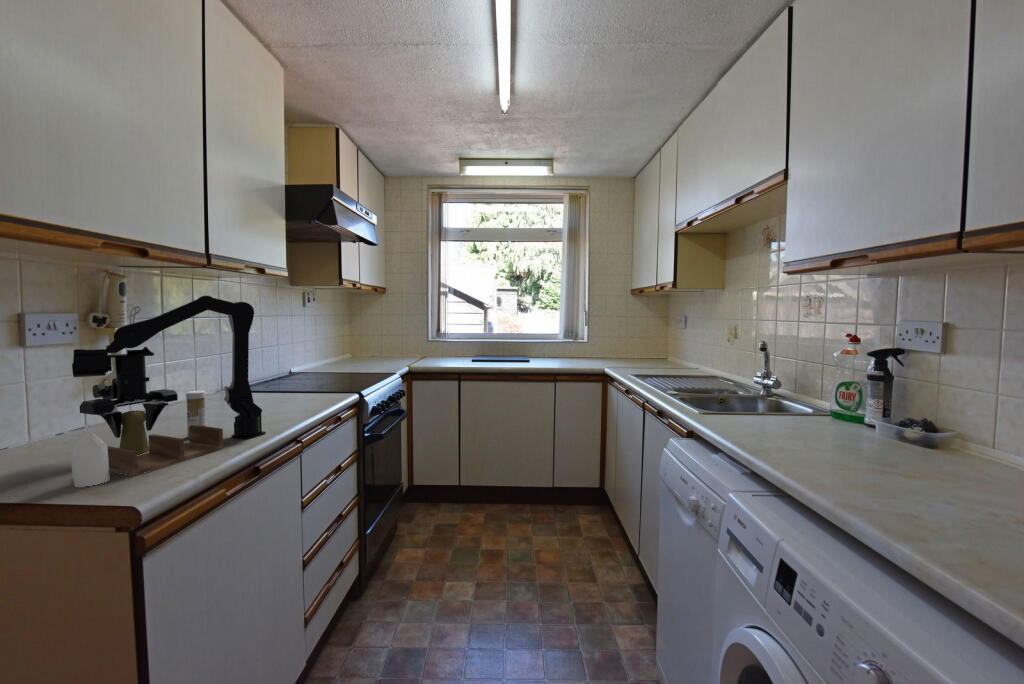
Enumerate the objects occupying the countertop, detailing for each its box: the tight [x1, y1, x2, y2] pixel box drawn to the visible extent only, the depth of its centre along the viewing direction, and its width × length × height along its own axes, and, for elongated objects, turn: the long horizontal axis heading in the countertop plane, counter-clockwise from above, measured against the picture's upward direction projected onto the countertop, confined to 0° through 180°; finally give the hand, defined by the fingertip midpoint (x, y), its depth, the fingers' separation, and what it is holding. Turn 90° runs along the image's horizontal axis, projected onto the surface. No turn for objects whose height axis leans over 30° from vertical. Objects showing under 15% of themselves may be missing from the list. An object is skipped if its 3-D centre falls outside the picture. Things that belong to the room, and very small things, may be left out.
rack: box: [107, 425, 224, 477], centre depth 106 cm, size 21×11×6 cm, turn 162°
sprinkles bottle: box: [185, 389, 207, 439], centre depth 125 cm, size 5×5×14 cm
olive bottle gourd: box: [119, 410, 149, 456], centre depth 109 cm, size 6×6×11 cm
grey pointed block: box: [70, 427, 111, 488], centre depth 90 cm, size 6×12×6 cm
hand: (133, 434), depth 109 cm, fingers open, 7 cm apart
